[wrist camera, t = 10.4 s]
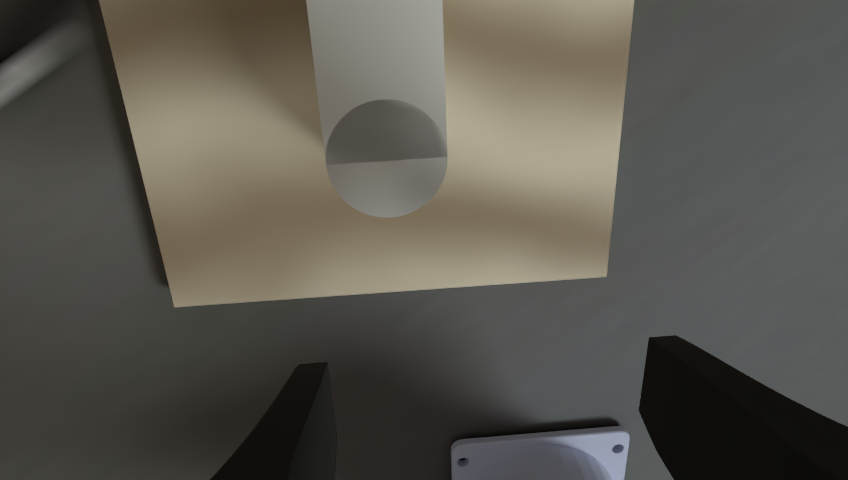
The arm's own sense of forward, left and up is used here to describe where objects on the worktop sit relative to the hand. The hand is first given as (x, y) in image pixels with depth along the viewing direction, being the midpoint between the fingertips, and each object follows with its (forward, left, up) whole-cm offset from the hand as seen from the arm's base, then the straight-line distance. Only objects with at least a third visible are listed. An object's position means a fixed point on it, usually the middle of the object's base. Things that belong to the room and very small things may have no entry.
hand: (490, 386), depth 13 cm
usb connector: (+8, +2, -8) cm, 12 cm away
